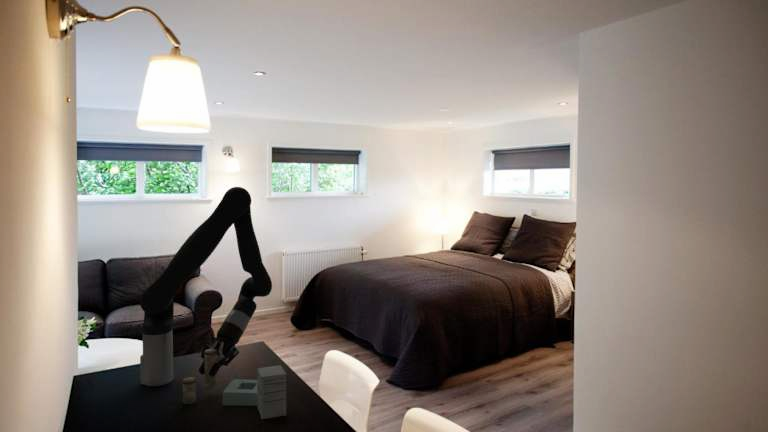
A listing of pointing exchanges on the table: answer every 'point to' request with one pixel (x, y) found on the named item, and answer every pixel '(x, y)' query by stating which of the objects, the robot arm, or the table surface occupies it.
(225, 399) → the socket block
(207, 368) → the tall pin
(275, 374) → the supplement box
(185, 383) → the short pin
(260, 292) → the robot arm
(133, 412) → the table surface
